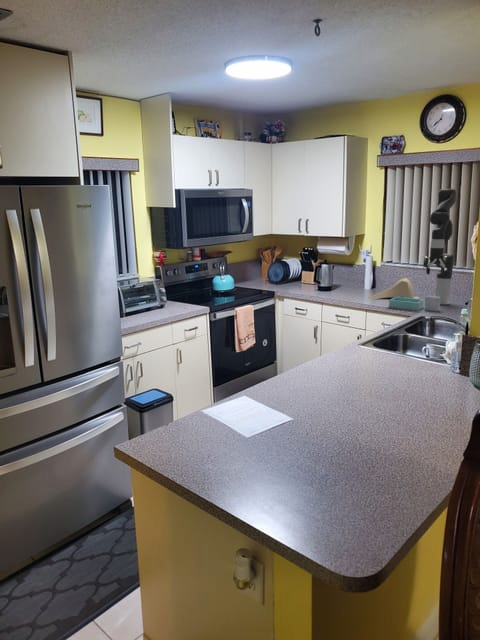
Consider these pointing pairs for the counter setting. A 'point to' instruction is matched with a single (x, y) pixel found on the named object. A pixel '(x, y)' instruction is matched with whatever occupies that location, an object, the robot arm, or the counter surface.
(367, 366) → the counter surface
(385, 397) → the counter surface
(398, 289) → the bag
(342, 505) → the counter surface
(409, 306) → the tote
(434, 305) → the medicine box
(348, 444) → the counter surface
